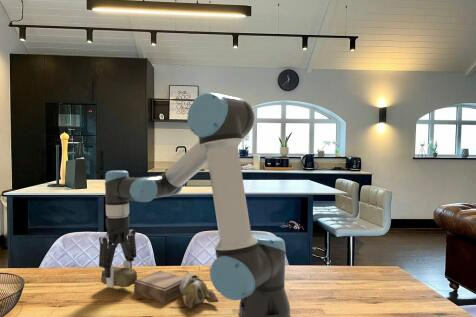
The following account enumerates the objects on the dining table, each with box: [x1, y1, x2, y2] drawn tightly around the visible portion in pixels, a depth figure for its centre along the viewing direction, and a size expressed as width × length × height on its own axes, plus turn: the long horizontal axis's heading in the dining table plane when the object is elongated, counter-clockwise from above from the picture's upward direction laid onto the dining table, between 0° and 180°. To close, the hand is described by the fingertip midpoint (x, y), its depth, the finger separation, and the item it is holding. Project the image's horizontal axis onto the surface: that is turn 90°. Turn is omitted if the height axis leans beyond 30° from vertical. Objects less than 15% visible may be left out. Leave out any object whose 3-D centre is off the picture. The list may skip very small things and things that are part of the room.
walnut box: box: [133, 270, 184, 304], centre depth 121 cm, size 14×12×4 cm
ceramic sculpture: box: [179, 271, 219, 309], centre depth 114 cm, size 11×9×15 cm
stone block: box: [100, 266, 138, 288], centre depth 122 cm, size 6×12×5 cm, turn 71°
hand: (118, 282), depth 122 cm, fingers closed on stone block, 6 cm apart
